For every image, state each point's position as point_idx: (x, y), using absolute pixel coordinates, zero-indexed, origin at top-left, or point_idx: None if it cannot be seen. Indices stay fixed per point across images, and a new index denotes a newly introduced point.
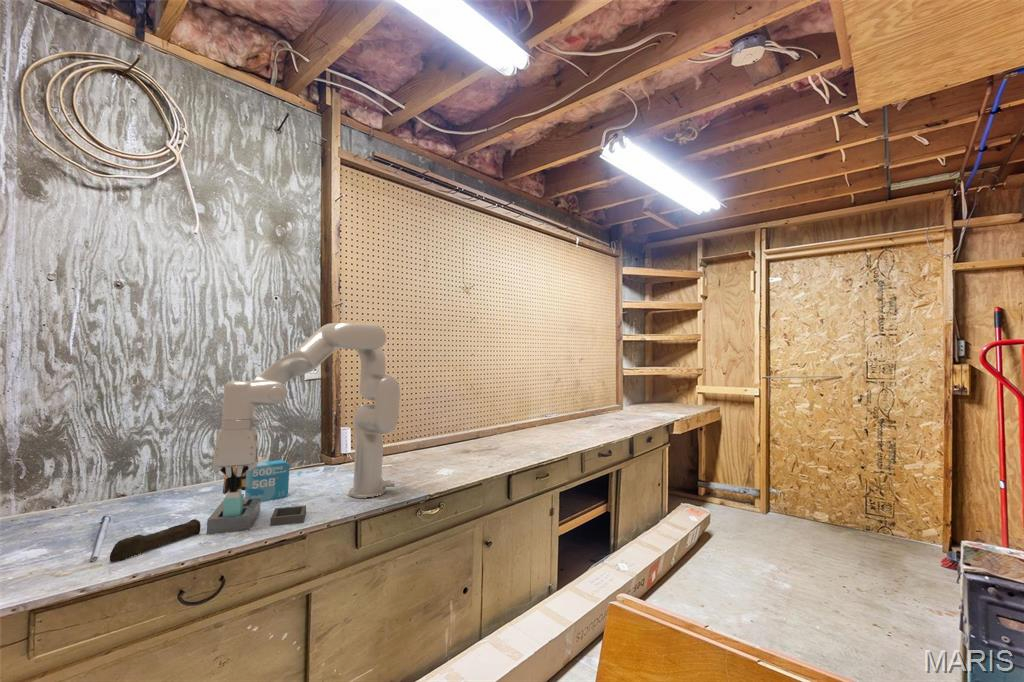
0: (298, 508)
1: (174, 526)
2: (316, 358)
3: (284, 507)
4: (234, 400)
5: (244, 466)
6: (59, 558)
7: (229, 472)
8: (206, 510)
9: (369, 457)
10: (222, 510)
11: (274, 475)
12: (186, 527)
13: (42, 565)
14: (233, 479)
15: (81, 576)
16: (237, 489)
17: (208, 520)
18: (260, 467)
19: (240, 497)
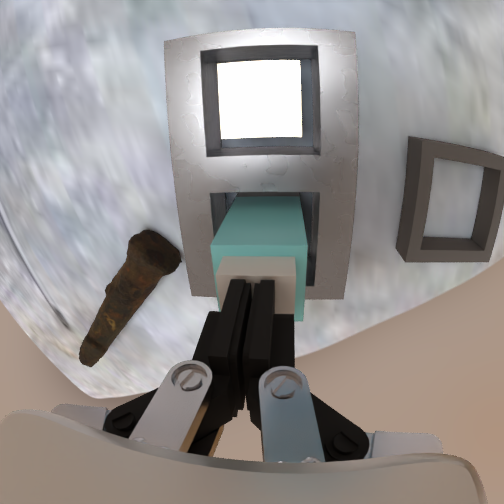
0: (489, 166)
1: (116, 296)
2: None
3: (453, 147)
4: None
5: (319, 451)
6: (20, 294)
7: (203, 446)
8: (119, 13)
9: None
10: (209, 199)
11: None
12: (146, 294)
13: (23, 311)
14: (244, 394)
15: (97, 370)
16: (274, 307)
17: (196, 294)
18: None
19: (301, 313)
